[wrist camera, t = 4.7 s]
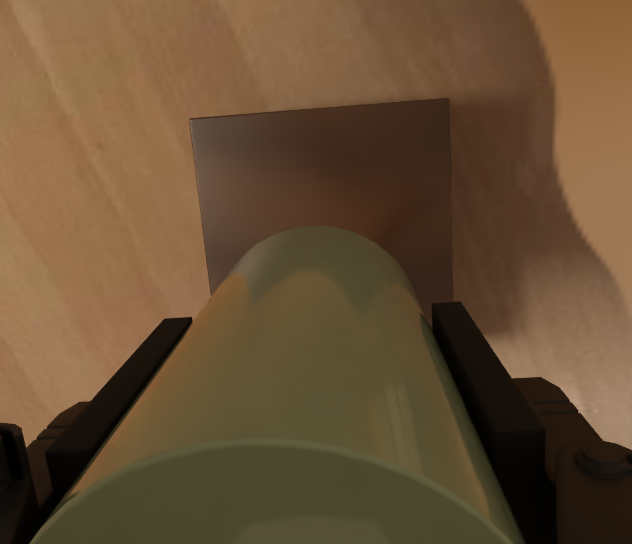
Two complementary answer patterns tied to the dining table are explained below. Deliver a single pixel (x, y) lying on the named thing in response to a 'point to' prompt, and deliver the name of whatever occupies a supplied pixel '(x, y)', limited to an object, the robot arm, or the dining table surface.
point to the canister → (295, 419)
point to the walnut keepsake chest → (331, 183)
